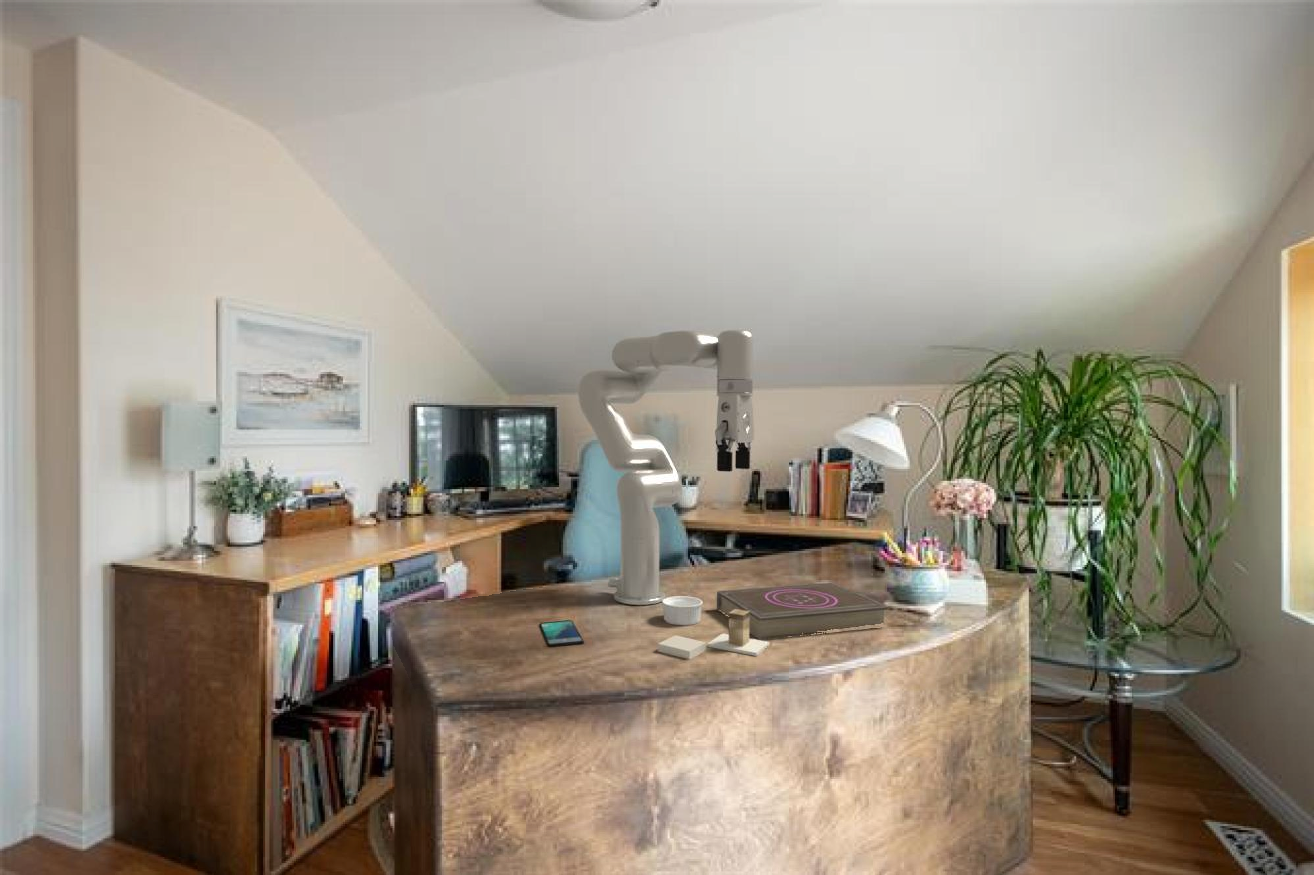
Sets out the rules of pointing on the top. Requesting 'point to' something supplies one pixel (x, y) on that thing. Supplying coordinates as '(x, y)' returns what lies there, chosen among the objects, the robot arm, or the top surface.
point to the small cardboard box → (739, 627)
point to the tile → (682, 647)
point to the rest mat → (750, 648)
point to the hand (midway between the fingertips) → (733, 469)
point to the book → (801, 609)
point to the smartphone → (560, 633)
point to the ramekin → (682, 610)
